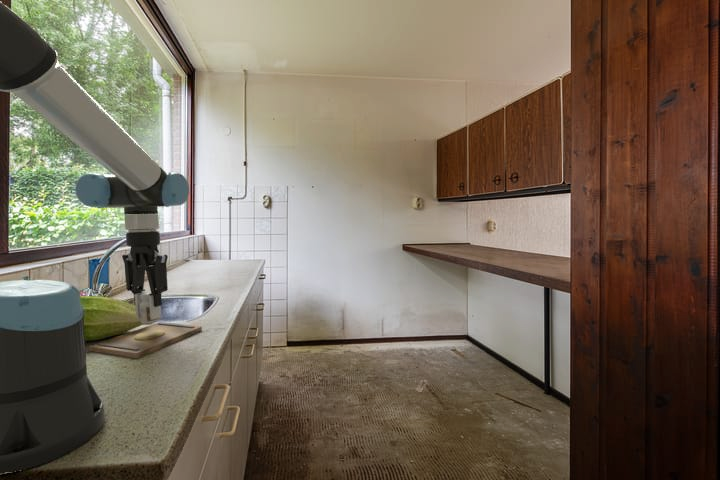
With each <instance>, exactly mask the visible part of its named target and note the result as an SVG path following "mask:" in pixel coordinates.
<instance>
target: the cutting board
mask: <svg viewBox="0 0 720 480" xmlns="http://www.w3.org/2000/svg"><path fill="white" fill-rule="evenodd" d="M202 327H203V326H201V325H190V324H189V325H188V324H182V323H171V322H163V321H158V322H155V323H152V324H151V325H147V326H144V327H141V328H138V329H135V330H134V331H128V332H126V333H123V334H120V335H117V336H114V337H112V338H109V339H107V340H104V341H100V342H98V343H95V344H93V345H92V344H91V345H89V351H90V352H94V353H99V354H108V355H113V356H119V357H127V358H132V359H138V358H142V357H143V356H144V357H145V355H148V354H150V353H152V352H155V351H157V350H159V349H162V348H164V347H167V346H169V345H172V344H174V343H176V342H178V341H180V340H184V339H186V338H188V337H190V336H192V335H191V334H193V333H195V334H197V333H199V332H198V331H200V330H202ZM202 331H203V330H202ZM196 332H197V333H196ZM200 332H201V331H200ZM189 335H190V336H189ZM193 335H194V334H193ZM187 336H188V337H187ZM185 337H186V338H185Z"/></svg>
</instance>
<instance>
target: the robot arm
mask: <svg viewBox="0 0 720 480" xmlns="http://www.w3.org/2000/svg"><path fill="white" fill-rule="evenodd" d="M0 92H4V93H5V92H6V93H12V94H14V95H15V96H16V97H17V98H18V99H20V100H21V101H23V103H25V104H26V105H28V107H30V108H31V109H32V110H34V112H36V113H37V114H39V116H41V117H42V118H43V119H44V120H45V121H47V122H48V123H50V124H51V125H52V126H53V127H55V129H57V130H58V131H59V132H61V133H62V134H63V135H64V136H65V137H66V138H67V139H69V140H70V141H71V142H73V143H74V144H75V145H76V146H78V147H79V148H80V149H81V150H83V151H84V152H85V153H87V154H88V155H89V156H90V157H91V158H92V159H93V160H95V161H96V162H97V163H99V165H101V166H102V167H104V168H105V169H106V170H107V171H108V172H110V173H111V174H103V173H100V172H99V173H98V172H97V173H90V172H89V173H84V174H83V175H81V176H79V178H78V179H77V181H76V183H75V186H74V187H75V194H76V198H77V200H78V201H79V202H80V203H81V204H82V205H85V206H86V207H90V208H97V209H105V208H107V209H108V208H109V209H112V208H113V209H114V208H115V209H116V208H117V209H121V208H122V209H123V212H124V215H123V216H124V229H125V230H126V231H127V232H126V233H125V238H126V246H127V247H130V250H129V253H126V254H123V255H122V260H123V263H124V264H123V265H124V272H125V273H124V275H125V284H126V285H125V287H126V291H127V292H131V293H132V294H133V305H135V308H136V318H140V308H139V304H140V303H141V302H142V300H141V297H140V295H141V294H143V293H147V292H146V288H145V277H146V278H147V282H148V285H149V289H150V290H149V291H150V292H151V293H150V294H149V305H150V320H154V319H157V318H162V317H163V316H162V304H163V302H162V301H163V299H162V293H164V292H167V291H168V289H169V288H168V287H169V286H168V273H167V261H168V257H169V255H167V254H166V253H165V254H162V253H160V252H159V249H158V246H159V245H160V244H161V238H160V237H161V235H160V233H161V232H159V231H157V230H158V229H159V228H160V225H159V223H160V222H159V210H158V207H161V208H163V207H165V208H169V207H175V206H177V207H178V206H182V205H184V204H186V202H187V201H188V199H189V195H190V186H189V182H188V180H187V178H186V176H184V175H183V174H182V173H179V172H172V171H168V172H166V171H165V170H164V168H162V167H161V166H160V165H159V164H158V163H157V162H156V161H155V160H154V159H153V158H152V157H151V156H150V155H149V154H148V152H146V150H144V149H143V148H142V147H141V146H140V145H139V144H138V143H137V142H136V140H134V139H133V137H131V136H130V135H129V134H128V133H127V132H126V131H125V129H124V128H123V127H122V126H121V125H119V123H117V121H116V120H115V119H114V118H113V117H111V115H110V114H108V112H107V111H106V110H105V109H104V108H103V107H102V106H101V105H100V104H99V103H98V102H97V101H96V100H95V99H94V98H93V97H92V96H91V95H90V94H89V93H88V92H87V91H86V90H85V89H84V88H83V87H82V86H81V85H80V84H79V83H78V82H77V81H76V80H75V79H74V78H73V77H72V76H71V75H70V74H69V73H68V72H67V71H66V70H65V69H64V68H63V67H62V66H61V64H60V63H59V54H58V52H57V51H56V49H55V48H54V47H52V45H51V44H49V42H47V41H46V39H45V38H44V37H42V36H41V34H40V33H39V32H37V31H36V30H35V29H34V28H33V26H31V25H30V24H29V23H28V22H27V21H26V20H25V19H24V18H22V17H21V16H20V15H19V14H17V13H16V12H15V11H14V10H12V9H11V8H9V7H8V6H7V5H6V4H5V3H3V2H2V1H0ZM145 275H146V276H145ZM80 296H81V295H80V291H79V289H78V288H77V287H76V286H75V285H72V284H70V283H68V282H64V281H60V280H59V281H58V280H52V279H51V280H49V279H48V280H47V279H34V280H28V279H21V280H20V279H19V280H17V279H16V280H8V281H6V280H5V281H0V473H5V472H15V471H19V472H23V471H25V470H24V469H26V470H29V469H28V468H30V469H33V468H37V467H38V466H41V465H44V464H46V463H48V461H49V462H51V461H53V460H56V459H57V458H60V457H62V456H64V455H65V454H69V453H70V452H72V451H75V450H76V449H77V448H78V447H80V446H82V445H83V444H85V443H86V442H87V441H89V440H90V439H92V438H93V437H94V436H95V435H96V434H97V433H99V431H100V430H101V429H102V427H103V425H104V424H105V420H106V419H105V418H106V417H105V407H104V404H103V402H102V400H101V398H100V396H99V395H98V393H97V391H96V389H95V387H94V386H93V383H92V382H91V380H90V378H89V377H88V369H87V367H88V366H87V355H86V353H87V352H86V341H85V333H84V315H83V314H84V312H83V310H84V309H83V306H82V305H81V298H80ZM43 463H44V464H43ZM32 467H33V468H32ZM20 470H21V471H20ZM22 470H23V471H22Z"/></svg>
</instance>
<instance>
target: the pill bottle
mask: <svg viewBox="0 0 720 480" xmlns="http://www.w3.org/2000/svg"><path fill="white" fill-rule="evenodd" d="M150 293H151V291H149V292H146V293H143V294H141V295H140V297H141V300H142V302H141V303H140V304H139V308H140V319H141V323H142V324H143V325H149V324H156V323H158V322H160V318H161V317H160V318H157V319H154V320H150V305H149V294H150Z"/></svg>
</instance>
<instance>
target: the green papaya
mask: <svg viewBox="0 0 720 480" xmlns="http://www.w3.org/2000/svg"><path fill="white" fill-rule="evenodd" d="M80 298H81V305H82V306H83V309H84V310H83V312H84V314H83V315H84V333H85V342H93V341H99V340H103V339H107V338H111V337H112V338H113V337H117V336H121V335H124V334H126V333H128V332H130V331H131V330H134V329H136V328H139V327H141V326H144V324H142V323H141V319H140V318H136V308H135V304H134V303H131V302H128V301H125V300H121V299H117V298H112V297H106V296H102V295H100V296H99V295H97V296H96V295H80Z"/></svg>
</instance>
